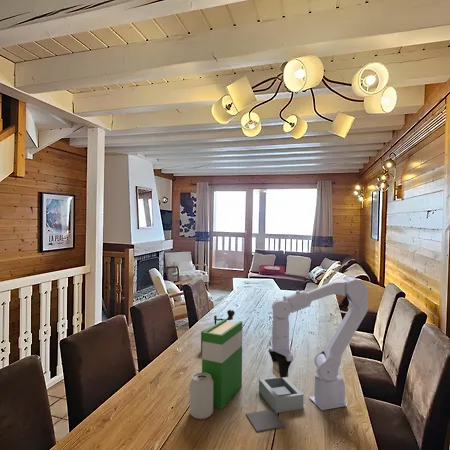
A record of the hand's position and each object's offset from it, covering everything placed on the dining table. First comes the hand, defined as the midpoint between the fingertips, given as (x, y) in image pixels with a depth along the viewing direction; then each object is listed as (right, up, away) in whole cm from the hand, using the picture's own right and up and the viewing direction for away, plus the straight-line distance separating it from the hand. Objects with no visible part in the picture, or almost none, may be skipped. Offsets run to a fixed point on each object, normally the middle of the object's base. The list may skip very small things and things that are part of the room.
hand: (280, 373), depth 114 cm
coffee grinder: (-22, -9, +47) cm, 52 cm away
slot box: (0, -9, 0) cm, 9 cm away
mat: (-7, -9, -12) cm, 17 cm away
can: (-27, -9, -9) cm, 29 cm away
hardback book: (-20, -9, +4) cm, 22 cm away
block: (0, 0, 0) cm, 0 cm away
